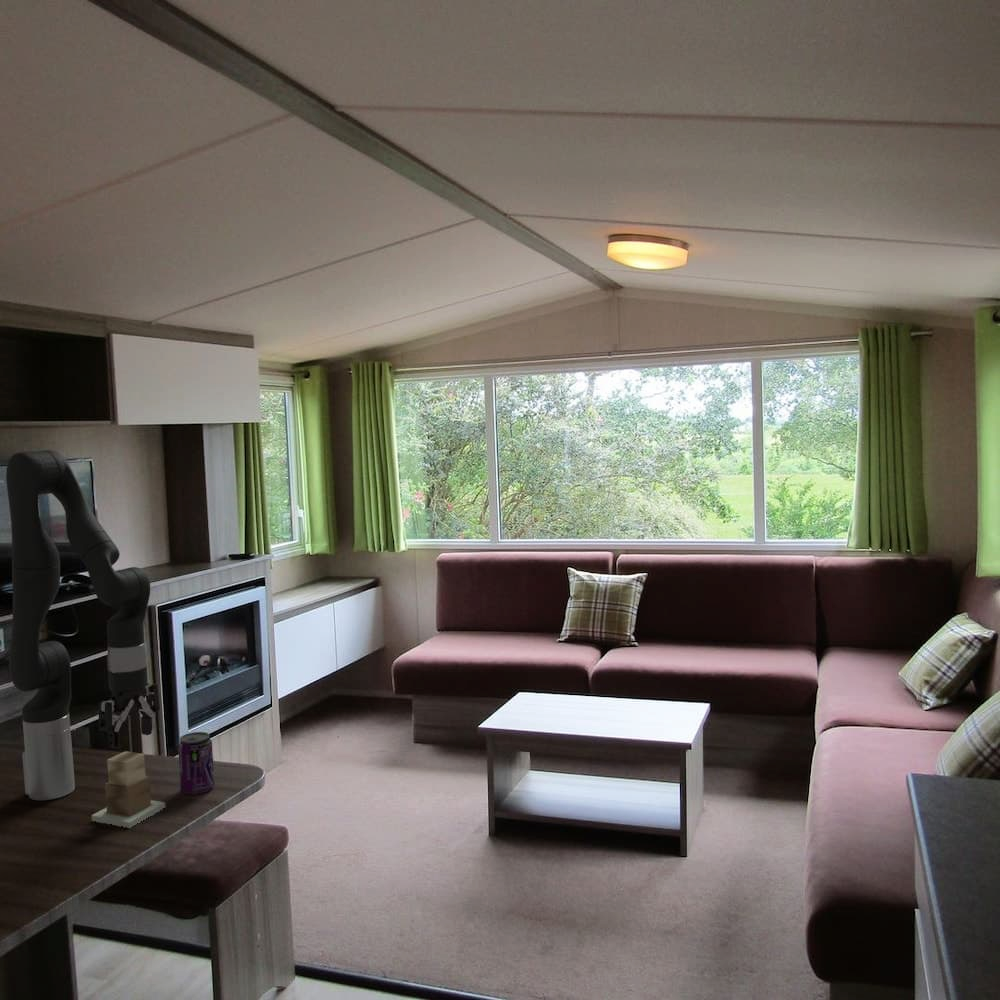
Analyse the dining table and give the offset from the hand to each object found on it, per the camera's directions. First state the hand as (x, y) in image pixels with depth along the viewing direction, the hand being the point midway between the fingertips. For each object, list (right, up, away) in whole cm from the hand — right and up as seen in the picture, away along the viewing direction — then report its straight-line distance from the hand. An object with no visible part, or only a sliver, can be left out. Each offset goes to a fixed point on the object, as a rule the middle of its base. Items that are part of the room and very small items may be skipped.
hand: (131, 741), depth 196 cm
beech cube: (0, -8, -2) cm, 8 cm away
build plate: (0, -15, -1) cm, 15 cm away
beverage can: (+10, -14, +11) cm, 20 cm away
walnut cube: (0, -14, -1) cm, 14 cm away
